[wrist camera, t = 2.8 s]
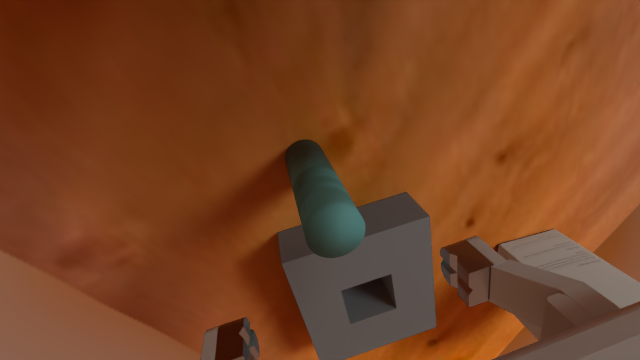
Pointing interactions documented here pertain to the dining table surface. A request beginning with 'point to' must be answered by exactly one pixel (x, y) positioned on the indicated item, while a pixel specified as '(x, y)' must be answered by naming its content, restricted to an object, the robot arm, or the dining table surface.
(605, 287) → the supplement box
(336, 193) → the teal peg
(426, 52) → the dining table surface
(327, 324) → the hole block
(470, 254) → the robot arm
